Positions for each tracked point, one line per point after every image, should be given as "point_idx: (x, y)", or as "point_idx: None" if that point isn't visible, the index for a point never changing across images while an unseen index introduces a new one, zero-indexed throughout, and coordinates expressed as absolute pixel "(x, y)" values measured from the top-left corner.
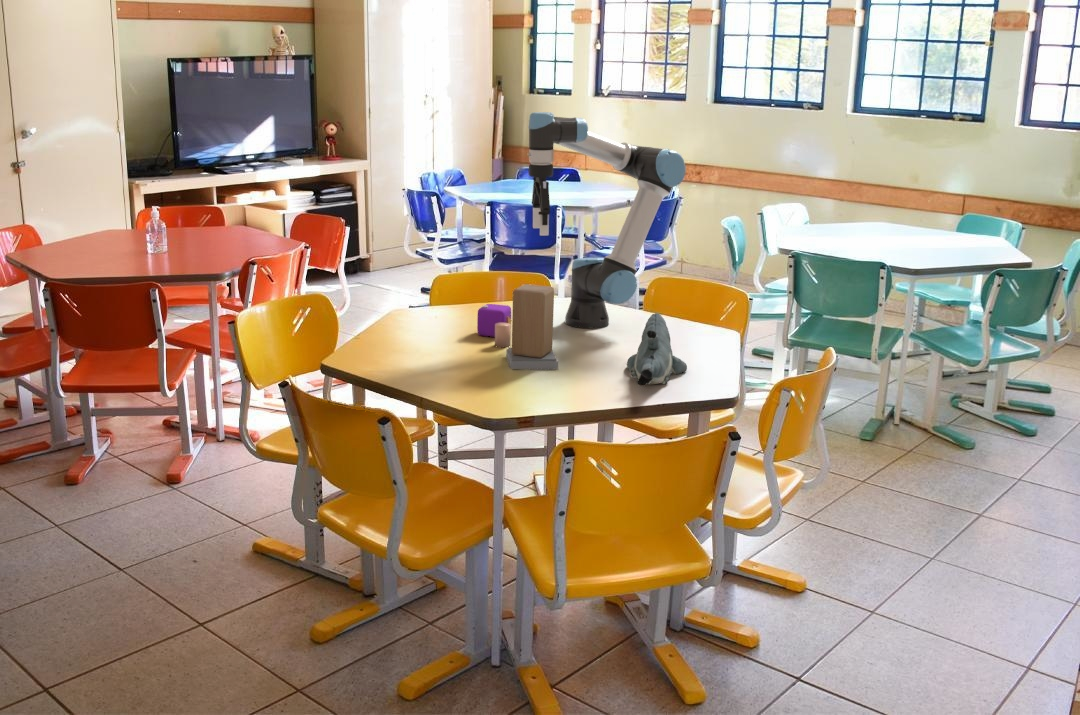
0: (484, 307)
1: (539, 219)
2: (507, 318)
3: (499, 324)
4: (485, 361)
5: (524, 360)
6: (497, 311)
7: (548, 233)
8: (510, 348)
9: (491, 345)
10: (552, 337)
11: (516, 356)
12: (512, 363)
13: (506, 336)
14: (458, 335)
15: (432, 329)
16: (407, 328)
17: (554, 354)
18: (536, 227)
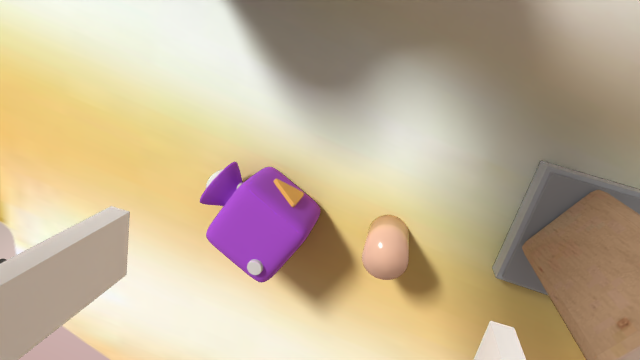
0: (261, 271)
1: (68, 266)
2: (296, 205)
3: (382, 267)
4: (510, 326)
5: None
6: (296, 246)
7: (516, 341)
8: (513, 276)
9: None
10: (624, 204)
11: None
12: None
13: (408, 245)
14: (267, 286)
15: (205, 314)
16: (188, 354)
17: (610, 184)
18: (122, 253)
